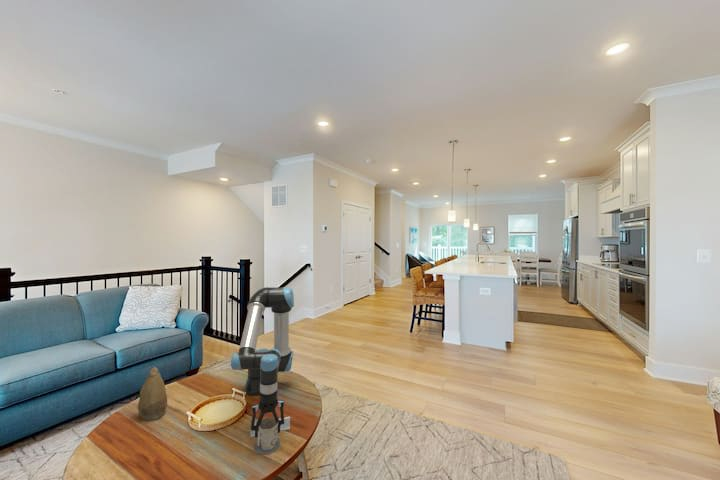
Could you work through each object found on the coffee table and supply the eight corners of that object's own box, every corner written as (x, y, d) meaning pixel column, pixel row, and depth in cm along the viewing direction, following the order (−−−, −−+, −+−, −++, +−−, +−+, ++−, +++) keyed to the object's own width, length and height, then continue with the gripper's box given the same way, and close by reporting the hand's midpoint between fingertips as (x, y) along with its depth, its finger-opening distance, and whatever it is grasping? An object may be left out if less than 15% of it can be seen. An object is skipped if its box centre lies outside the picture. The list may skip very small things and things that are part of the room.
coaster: (254, 439, 130) (254, 439, 130) (278, 434, 134) (278, 433, 134) (254, 457, 120) (254, 456, 120) (281, 450, 124) (281, 449, 124)
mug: (269, 454, 120) (269, 431, 120) (247, 446, 126) (247, 423, 125) (282, 442, 128) (282, 420, 128) (260, 434, 133) (260, 413, 133)
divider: (250, 433, 134) (250, 423, 134) (289, 425, 141) (289, 415, 141) (250, 437, 131) (250, 427, 131) (290, 429, 138) (290, 419, 138)
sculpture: (133, 418, 143) (134, 369, 143) (157, 406, 153) (158, 360, 153) (147, 425, 138) (148, 374, 138) (171, 413, 148) (172, 365, 148)
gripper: (244, 399, 120) (243, 453, 120) (292, 391, 127) (290, 442, 127) (245, 390, 127) (243, 441, 127) (290, 383, 134) (288, 431, 134)
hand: (267, 441), depth 127 cm, fingers open, 7 cm apart
